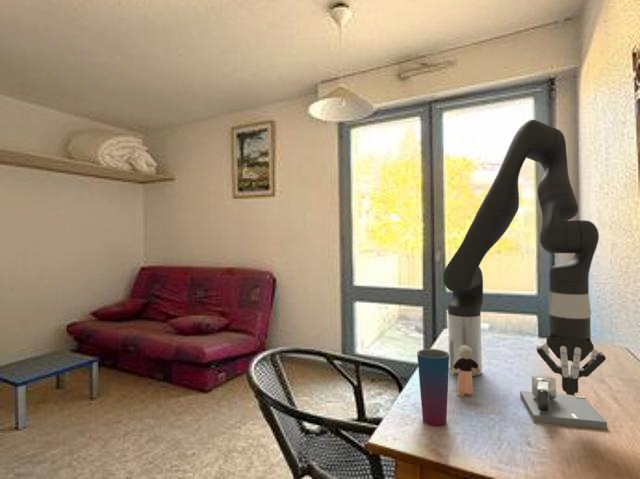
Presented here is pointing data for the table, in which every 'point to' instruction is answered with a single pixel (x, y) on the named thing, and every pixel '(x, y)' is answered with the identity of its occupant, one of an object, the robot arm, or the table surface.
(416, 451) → the table surface
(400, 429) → the table surface
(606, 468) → the table surface
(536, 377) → the lever
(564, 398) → the base
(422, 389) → the cup
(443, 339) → the table surface
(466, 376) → the grandmother figurine
